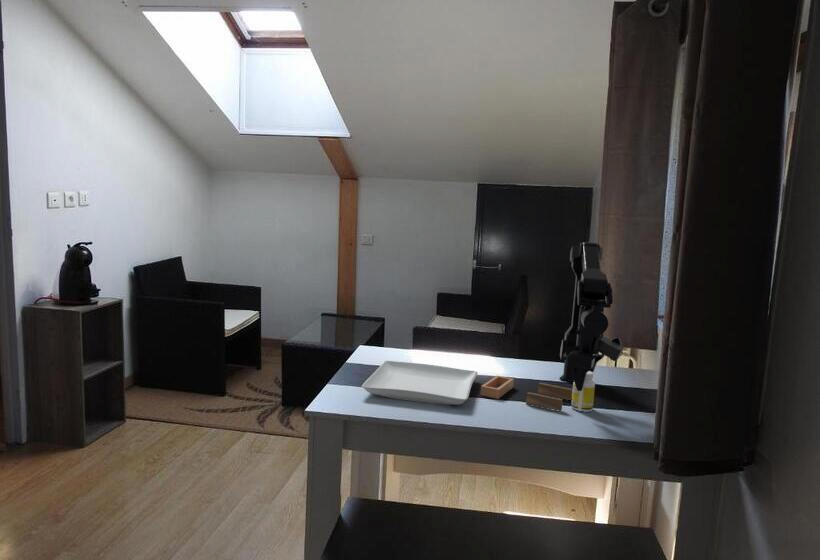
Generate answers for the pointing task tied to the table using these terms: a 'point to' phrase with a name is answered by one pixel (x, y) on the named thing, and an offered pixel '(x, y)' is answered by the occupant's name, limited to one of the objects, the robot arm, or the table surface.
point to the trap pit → (497, 387)
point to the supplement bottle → (584, 395)
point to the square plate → (421, 382)
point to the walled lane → (547, 400)
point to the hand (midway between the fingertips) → (583, 386)
